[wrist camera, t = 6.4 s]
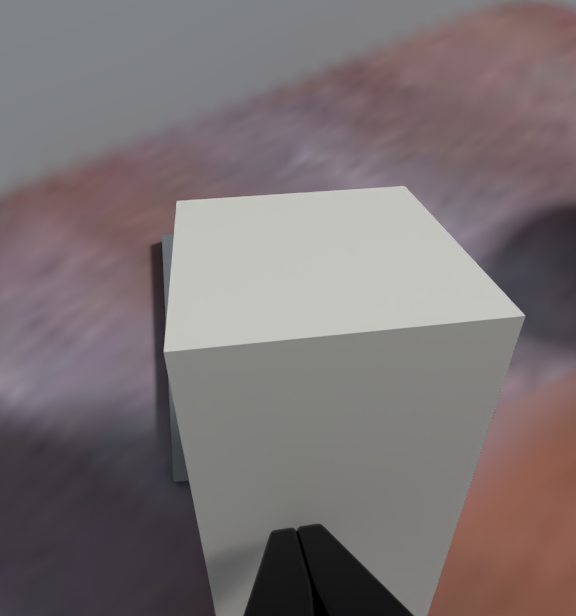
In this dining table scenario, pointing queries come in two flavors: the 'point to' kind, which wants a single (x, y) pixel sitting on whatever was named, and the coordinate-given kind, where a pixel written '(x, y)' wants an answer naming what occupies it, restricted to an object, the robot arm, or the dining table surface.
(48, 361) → the dining table surface
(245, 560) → the block
